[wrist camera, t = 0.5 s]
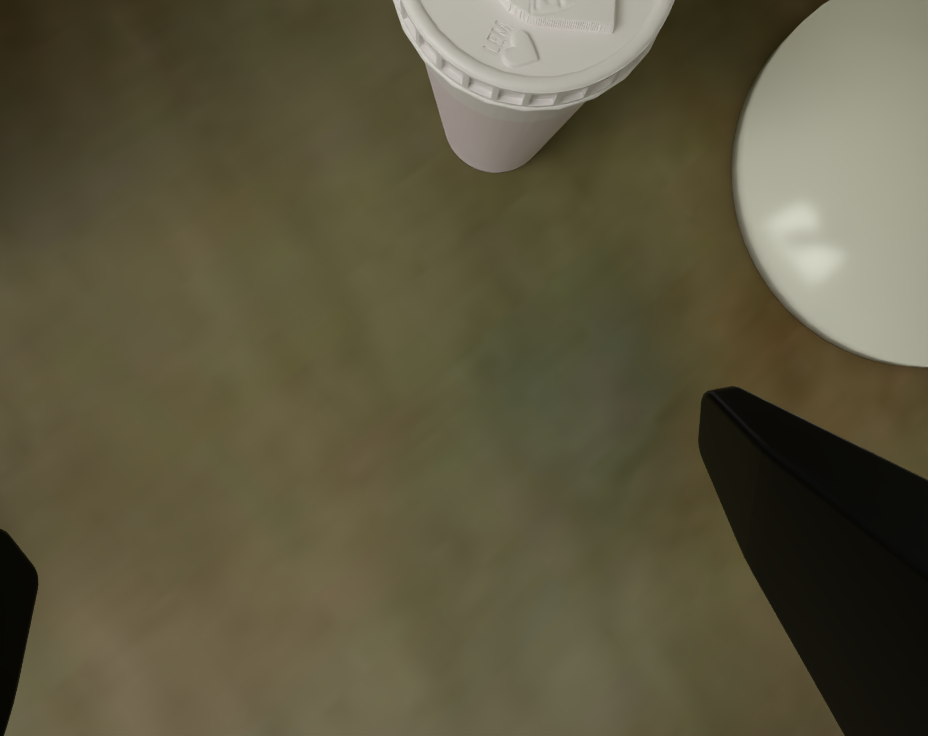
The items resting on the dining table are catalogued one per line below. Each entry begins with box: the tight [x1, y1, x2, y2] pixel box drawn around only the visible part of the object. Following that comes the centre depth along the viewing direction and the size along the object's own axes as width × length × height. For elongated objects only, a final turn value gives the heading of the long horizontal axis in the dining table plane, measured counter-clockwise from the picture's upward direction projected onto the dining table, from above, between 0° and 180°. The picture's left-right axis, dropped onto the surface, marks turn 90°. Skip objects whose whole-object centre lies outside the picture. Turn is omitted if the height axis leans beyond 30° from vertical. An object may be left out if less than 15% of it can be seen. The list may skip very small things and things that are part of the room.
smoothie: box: [393, 0, 674, 173], centre depth 17 cm, size 6×6×14 cm
